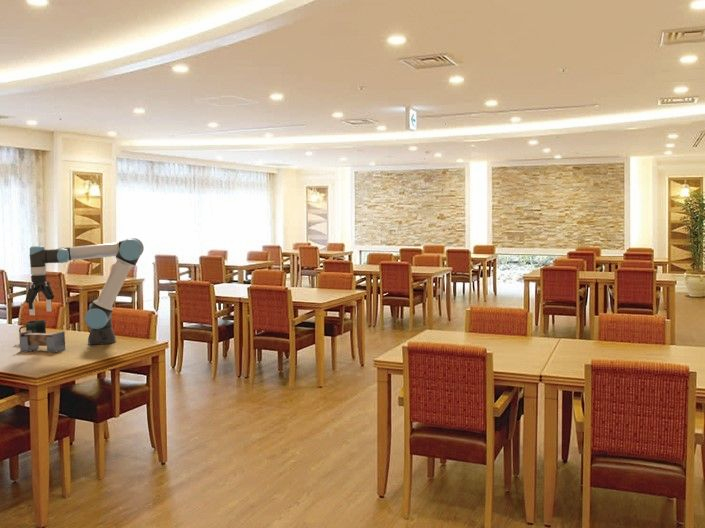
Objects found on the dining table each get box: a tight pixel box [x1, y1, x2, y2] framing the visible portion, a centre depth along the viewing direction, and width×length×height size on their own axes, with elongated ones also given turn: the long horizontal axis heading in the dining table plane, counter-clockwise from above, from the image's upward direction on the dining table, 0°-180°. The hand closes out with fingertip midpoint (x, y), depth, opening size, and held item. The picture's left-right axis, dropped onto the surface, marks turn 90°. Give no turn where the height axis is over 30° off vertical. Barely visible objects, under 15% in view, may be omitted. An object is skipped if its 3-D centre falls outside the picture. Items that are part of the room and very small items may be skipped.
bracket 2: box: [46, 330, 66, 353], centre depth 378 cm, size 5×9×10 cm, turn 166°
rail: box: [24, 332, 54, 347], centre depth 380 cm, size 18×5×6 cm, turn 76°
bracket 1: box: [18, 330, 40, 352], centre depth 382 cm, size 5×9×10 cm, turn 166°
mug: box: [18, 319, 47, 333], centre depth 405 cm, size 11×15×12 cm
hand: (40, 313), depth 379 cm, fingers open, 13 cm apart
